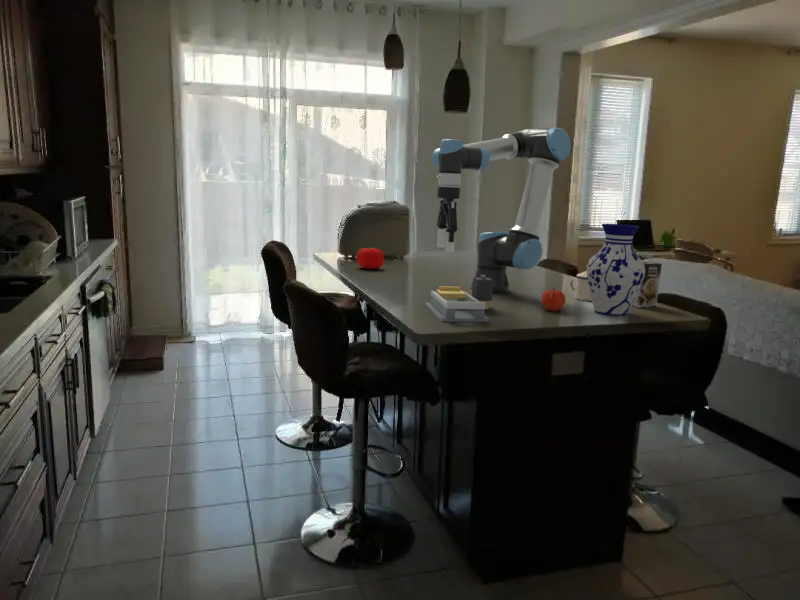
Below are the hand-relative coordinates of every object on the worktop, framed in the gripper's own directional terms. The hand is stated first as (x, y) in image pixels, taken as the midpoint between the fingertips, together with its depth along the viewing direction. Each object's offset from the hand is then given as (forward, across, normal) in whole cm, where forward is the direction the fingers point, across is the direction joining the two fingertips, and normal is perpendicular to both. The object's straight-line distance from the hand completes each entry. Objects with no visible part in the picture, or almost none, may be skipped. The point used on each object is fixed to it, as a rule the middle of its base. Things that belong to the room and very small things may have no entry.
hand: (445, 249), depth 219 cm
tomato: (+19, -81, -17) cm, 85 cm away
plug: (+19, +7, +12) cm, 23 cm away
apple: (+19, +9, +37) cm, 42 cm away
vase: (+19, +12, +57) cm, 61 cm away
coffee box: (+19, -1, +75) cm, 78 cm away
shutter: (+14, +10, +1) cm, 17 cm away
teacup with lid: (+19, -14, +58) cm, 63 cm away
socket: (+19, +17, +1) cm, 25 cm away
